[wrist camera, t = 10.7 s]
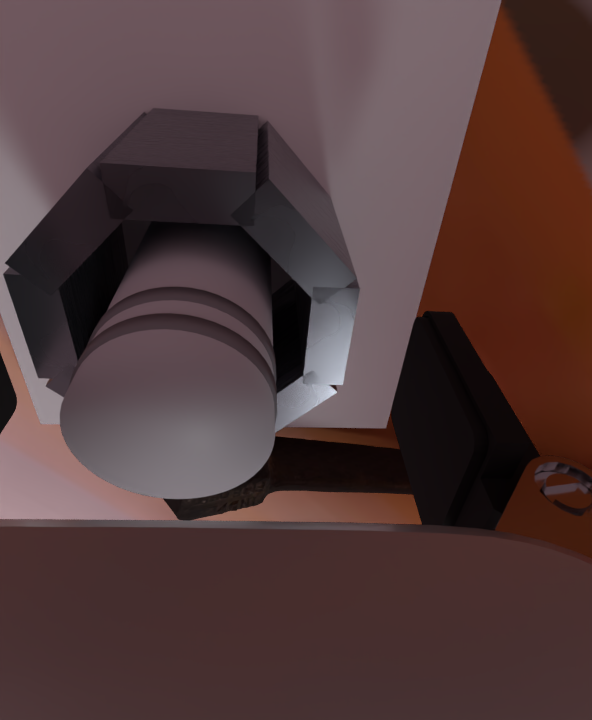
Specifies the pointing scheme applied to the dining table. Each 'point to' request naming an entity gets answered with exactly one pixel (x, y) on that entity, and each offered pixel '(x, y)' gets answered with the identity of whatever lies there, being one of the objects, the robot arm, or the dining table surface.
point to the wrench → (307, 475)
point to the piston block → (231, 242)
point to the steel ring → (192, 205)
